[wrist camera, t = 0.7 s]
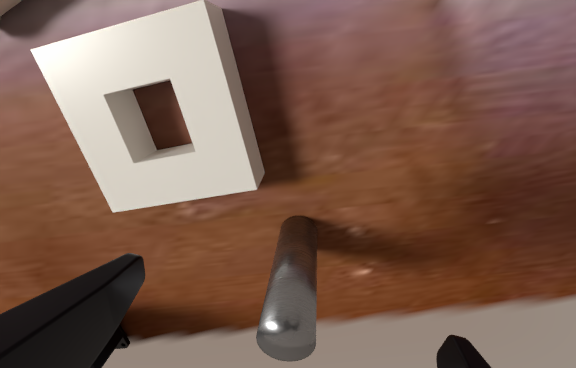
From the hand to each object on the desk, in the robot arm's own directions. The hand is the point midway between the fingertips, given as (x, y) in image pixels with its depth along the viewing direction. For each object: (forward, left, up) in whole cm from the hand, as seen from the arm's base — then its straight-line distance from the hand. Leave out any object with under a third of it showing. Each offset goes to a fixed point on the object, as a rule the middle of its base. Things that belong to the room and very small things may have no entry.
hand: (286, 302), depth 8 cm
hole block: (-9, +5, -14) cm, 17 cm away
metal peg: (-2, -6, -14) cm, 15 cm away
